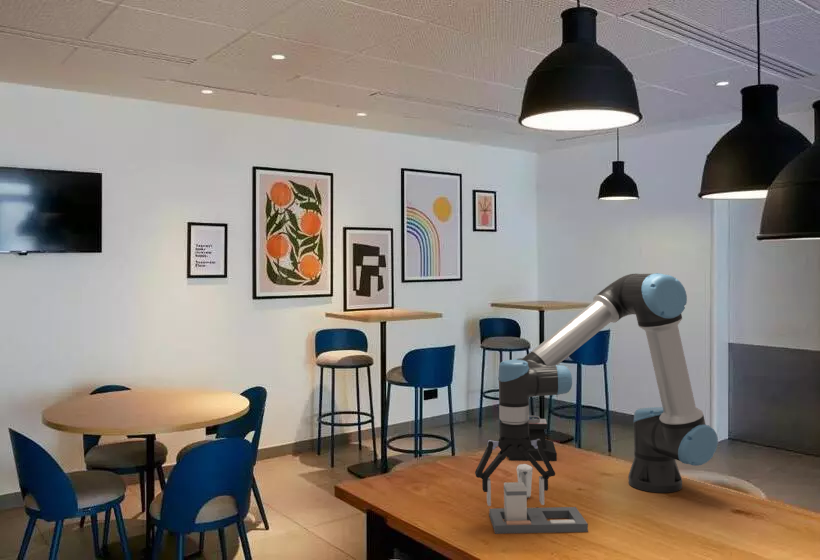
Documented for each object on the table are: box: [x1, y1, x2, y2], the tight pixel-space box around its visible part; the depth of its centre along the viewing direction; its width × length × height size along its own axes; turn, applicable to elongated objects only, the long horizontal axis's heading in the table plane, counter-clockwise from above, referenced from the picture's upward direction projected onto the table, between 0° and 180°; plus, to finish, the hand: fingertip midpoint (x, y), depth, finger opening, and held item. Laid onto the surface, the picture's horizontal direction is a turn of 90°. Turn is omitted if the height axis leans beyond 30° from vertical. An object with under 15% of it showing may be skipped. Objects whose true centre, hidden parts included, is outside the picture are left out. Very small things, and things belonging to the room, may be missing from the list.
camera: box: [508, 415, 558, 462], centre depth 239 cm, size 16×14×15 cm
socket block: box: [488, 506, 589, 535], centre depth 176 cm, size 23×12×2 cm, turn 90°
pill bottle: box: [516, 463, 535, 499], centre depth 197 cm, size 4×5×10 cm
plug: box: [503, 481, 528, 522], centre depth 176 cm, size 5×5×10 cm
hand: (515, 503), depth 176 cm, fingers open, 13 cm apart
